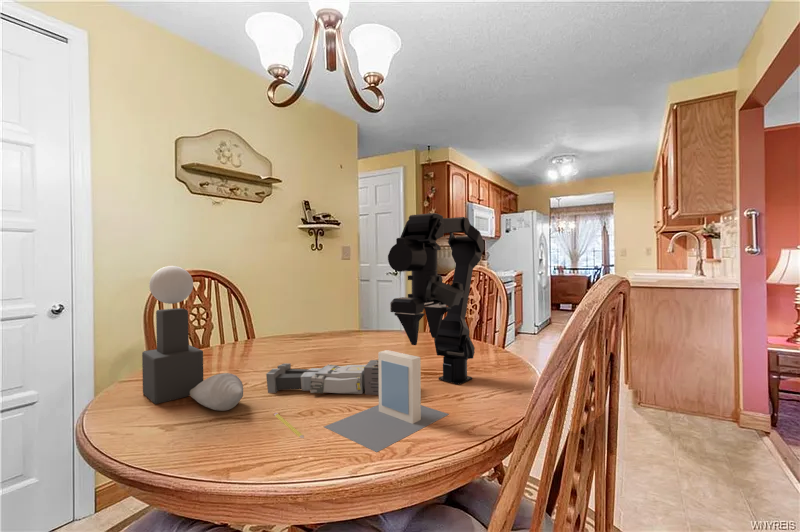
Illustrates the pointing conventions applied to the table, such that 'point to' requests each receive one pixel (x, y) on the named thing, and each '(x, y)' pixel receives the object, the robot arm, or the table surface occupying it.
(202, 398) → the seashell
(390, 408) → the cream rectangular block
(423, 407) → the mat
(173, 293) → the sculpture
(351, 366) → the toy figure
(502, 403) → the table surface
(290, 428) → the pencil
